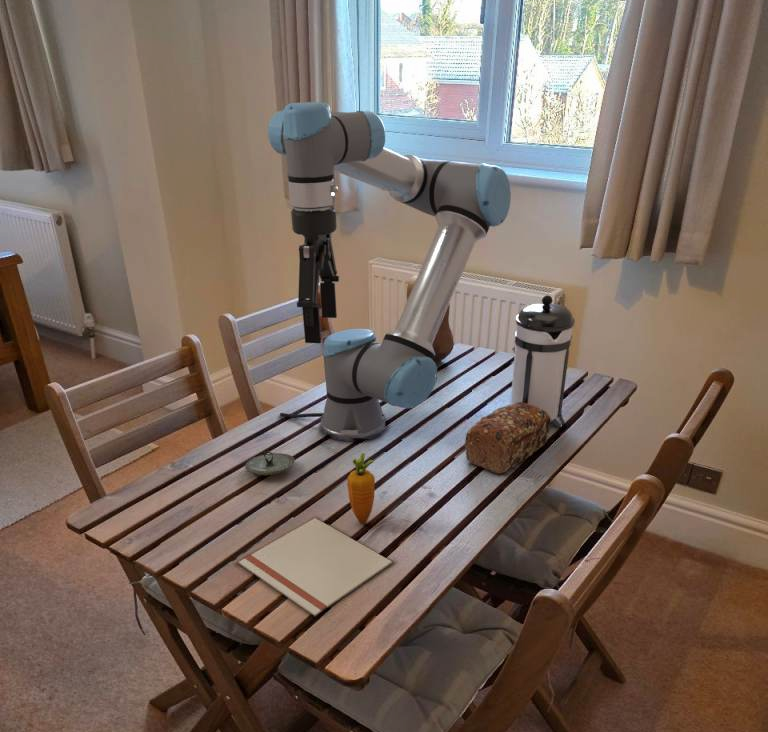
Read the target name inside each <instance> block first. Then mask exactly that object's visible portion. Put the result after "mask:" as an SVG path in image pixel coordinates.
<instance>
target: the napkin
mask: <svg viewBox="0 0 768 732" xmlns="http://www.w3.org/2000/svg"><path fill="white" fill-rule="evenodd" d="M238 564H239V565H240V566H242V567H243V568H244V569H246V570H248V571H249V572H250V573H252V574H253V575H254V576H256V577H257V578H259V579H260V580H261V581H263V582H265V583H266V584H267V585H269V586H271V587H272V588H273V589H275V590H276V591H278V592H279V593H280V594H281V595H283V596H285V597H286V598H288V599H289V600H290V601H292V602H293V603H294V604H297V605H298V606H299V607H301V608H302V609H304V610H305V611H307V612H308V613H309V614H311V615H312V616H313V617H317V616H318V615H320V613H322V612H324V611H325V610H327V609H328V608H329V607H331V606H332V605H334V604H335V603H336V602H338V601H340V600H341V599H342V598H344V597H346V596H347V595H348V594H350V593H351V592H352V591H354V590H355V589H356V588H357V589H358V587H361V586H362V585H363V584H364V583H365V582H367V581H368V580H370V579H371V578H373V577H374V576H375V575H377V574H379V573H380V572H382V570H384V569H386V568H387V567H389V566H390V565H391V564H393V562H392V560H390V559H388V558H387V557H384V556H383V555H381V554H379V553H378V552H376V551H374V550H372V549H371V548H369V547H367V546H365V545H364V544H362V543H360V542H358V541H357V540H355V539H353V538H351V537H350V536H348V535H347V534H344V533H342V532H341V531H338V530H337V529H336V528H334V527H332V526H330V525H329V524H326V523H325V522H324V521H321V520H319V518H316V517H314V518H313V519H311V520H309V521H307V522H305V523H303V524H302V525H300V526H299V527H297V528H295V529H293V530H291V531H290V532H288V533H286V534H285V535H283V536H281V537H279V538H278V539H276V540H274V541H272V542H270V543H269V544H267V545H265V546H263V547H262V548H260V549H259V550H257V551H255V552H253V553H251V554H250V555H248V556H247V557H244V558H243V559H241V560H239V561H238Z"/></svg>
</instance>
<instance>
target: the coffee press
mask: <svg viewBox="0 0 768 732" xmlns="http://www.w3.org/2000/svg"><path fill="white" fill-rule="evenodd" d="M553 301H554V300H553V297H552V296H551V295H544V296H543V297H542V299H541V302H536V303H531V304H528V305H526V306H524V307H523V308H521V310H520V311H519V312H518V314H517V315H516V317H515V324H516V331H515V333H514V334H515V335H514V344H515V345H514V347H515V353H514V356H513V357H514V358H513V367H512V368H513V371H512V381H511V392H510V393H511V394H510V404H509V405H513V404H516V403H519V402H523V403H526V404H530V405H532V406H535V407H537V408H539V409H541V410H544V411H546V412H547V413H548V414H549V416H550V419H551V421H550V422H553V423H554V424H555V425H556V426H557V428H563V427H564V426H565V424H566V421H565V420H564V418H563V414H562V412H563V411H562V410H563V403H564V394H565V387H566V381H567V379H566V378H567V371H568V365H569V364H568V363H569V356H570V348H571V345H572V339H573V336H572V332H573V328H574V326H575V321H576V319H575V317H574V316H573V313H572V311H571V310H570V309H568V308H567V307H565V306H563V305H560V304H557V303H553ZM557 419H559V420H557ZM559 421H560V422H559Z"/></svg>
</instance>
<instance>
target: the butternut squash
mask: <svg viewBox="0 0 768 732" xmlns="http://www.w3.org/2000/svg"><path fill="white" fill-rule="evenodd" d="M417 277H418V274H414V275H412V276H411V277H409V279H408V281H407V287H406V301H407V300H408V298H409V296H410V293H411V291H412V288H413V286H414V284H415V281H416V279H417ZM450 306H451V302H450V303H449V306H448V308H447V311H446V313H445V315H444V318H443V320H442V322H441V325H440V327H439V329H438V332H437V334H436V336H435V339H434V341H433V344H432V347H433V350H434V352H435V357H434V359H433V361H434V362H435V364H436V365H437V364H439V363H441V362H442V361H443V360H445V359H446V358H447V357H448V356H449V355H451V353H452V351H453V350H454V335H453V332H452V329H451V327H450V319H449V318H450V309H451V307H450Z"/></svg>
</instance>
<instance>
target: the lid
mask: <svg viewBox="0 0 768 732" xmlns="http://www.w3.org/2000/svg"><path fill="white" fill-rule="evenodd" d="M295 461H296V459H295V457H294V456H292V455H290V454H288V453H281V452H271V451H270V450H267V451H264V452H263V454H261V455H257V456H254V457H252V458H250V459H249V460H247V462H246V463H245V470H246V471H247V472H248V473H250V474H253V475H258V476H272V475H276V474H279V473H283V472H285V471H287V470H289V469H290V468H291V467H292V466H294V464H295Z"/></svg>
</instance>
